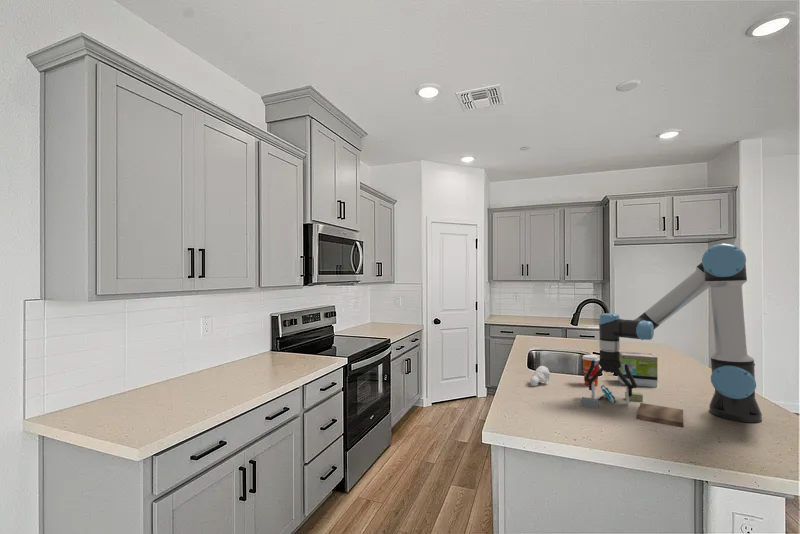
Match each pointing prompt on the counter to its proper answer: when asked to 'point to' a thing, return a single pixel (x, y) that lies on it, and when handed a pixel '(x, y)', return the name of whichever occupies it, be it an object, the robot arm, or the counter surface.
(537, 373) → the white lumpy piece
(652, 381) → the tea box
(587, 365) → the paper cup
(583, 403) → the slate grey block
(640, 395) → the olive block
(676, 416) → the walnut board
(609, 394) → the stick construction toy
